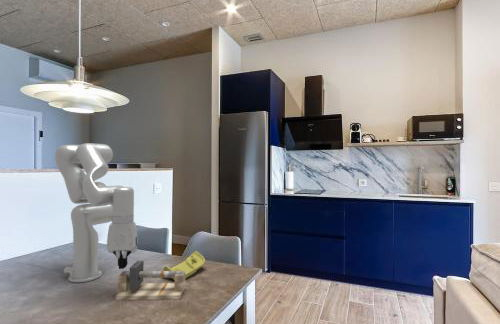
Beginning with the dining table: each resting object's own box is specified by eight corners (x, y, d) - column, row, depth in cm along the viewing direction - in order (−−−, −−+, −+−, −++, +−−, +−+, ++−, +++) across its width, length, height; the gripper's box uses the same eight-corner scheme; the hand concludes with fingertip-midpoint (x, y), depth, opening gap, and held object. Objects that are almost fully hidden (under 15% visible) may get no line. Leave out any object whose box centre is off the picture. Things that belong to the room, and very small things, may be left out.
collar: (129, 289, 106) (129, 267, 106) (137, 280, 114) (137, 260, 114) (136, 289, 106) (136, 267, 106) (143, 280, 114) (143, 260, 114)
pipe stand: (114, 299, 105) (114, 276, 105) (126, 287, 116) (126, 266, 116) (181, 299, 105) (181, 276, 106) (186, 286, 116) (186, 266, 117)
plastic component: (180, 278, 120) (163, 263, 124) (174, 291, 122) (158, 277, 126) (208, 260, 137) (193, 248, 141) (204, 273, 139) (189, 261, 143)
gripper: (98, 221, 106) (97, 271, 106) (139, 221, 107) (138, 271, 107) (107, 217, 114) (107, 264, 114) (146, 217, 114) (145, 264, 114)
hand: (122, 267), depth 110 cm, fingers closed
